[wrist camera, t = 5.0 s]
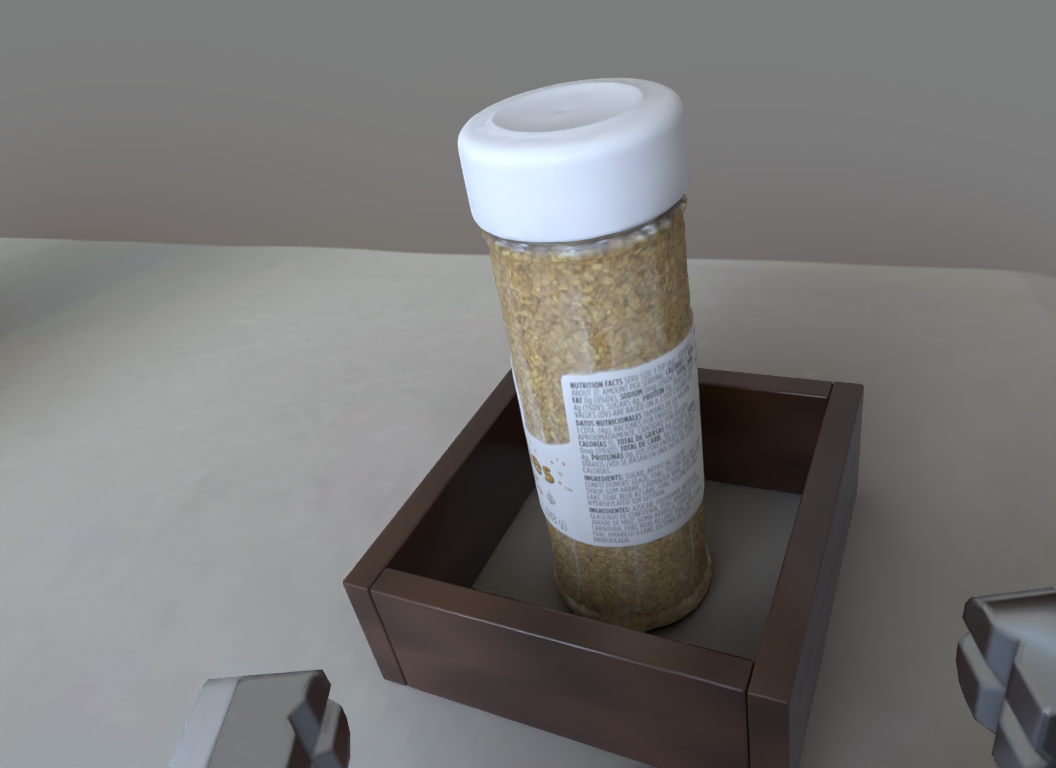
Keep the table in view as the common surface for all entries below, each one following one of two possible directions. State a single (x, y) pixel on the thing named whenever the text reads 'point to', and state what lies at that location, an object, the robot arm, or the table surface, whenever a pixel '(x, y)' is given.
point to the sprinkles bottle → (600, 334)
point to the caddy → (604, 649)
